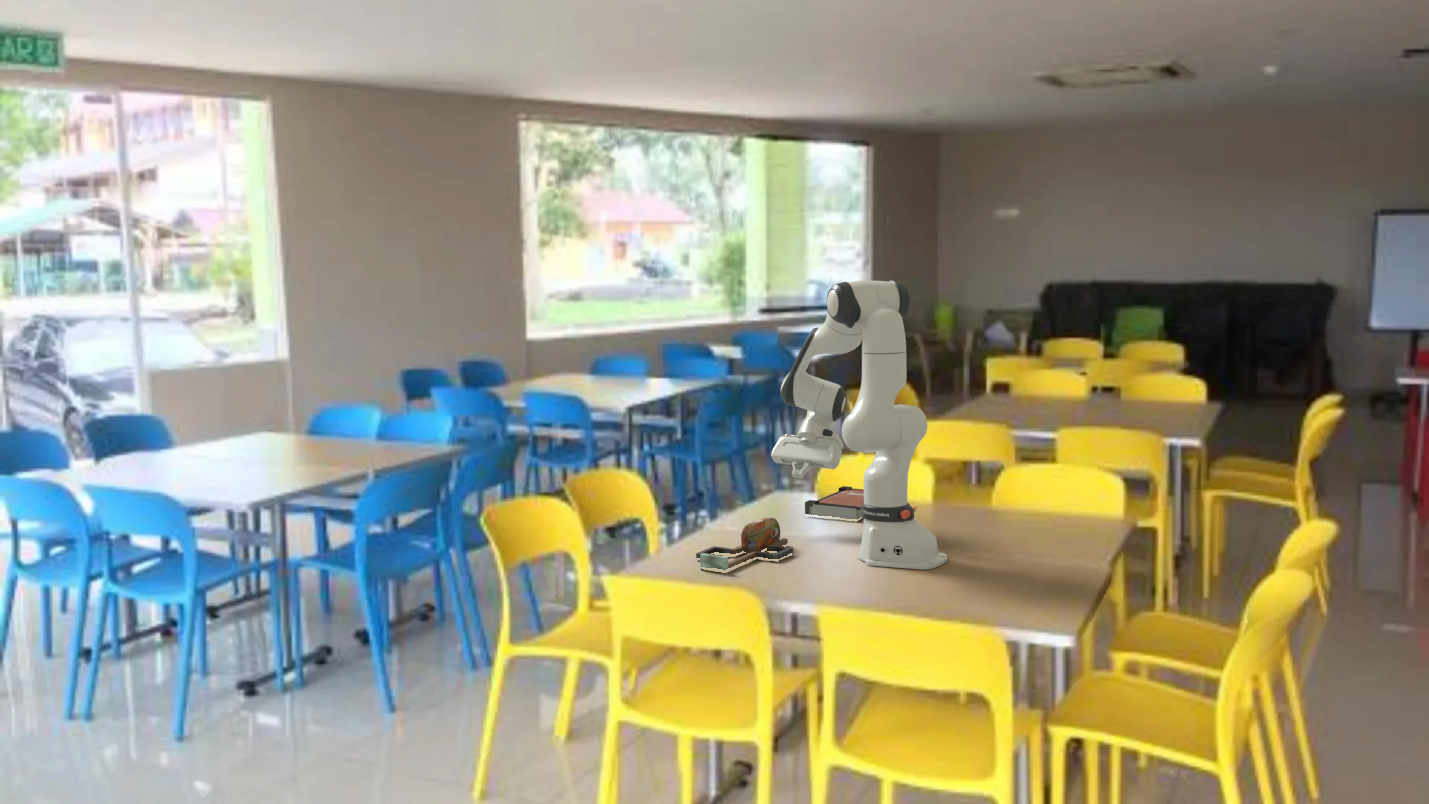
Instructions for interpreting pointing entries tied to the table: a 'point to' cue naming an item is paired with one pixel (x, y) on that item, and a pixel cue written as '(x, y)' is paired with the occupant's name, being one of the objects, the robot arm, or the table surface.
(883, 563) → the robot arm
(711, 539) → the table surface
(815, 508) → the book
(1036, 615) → the table surface
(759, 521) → the tin
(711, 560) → the trap lane
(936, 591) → the table surface
